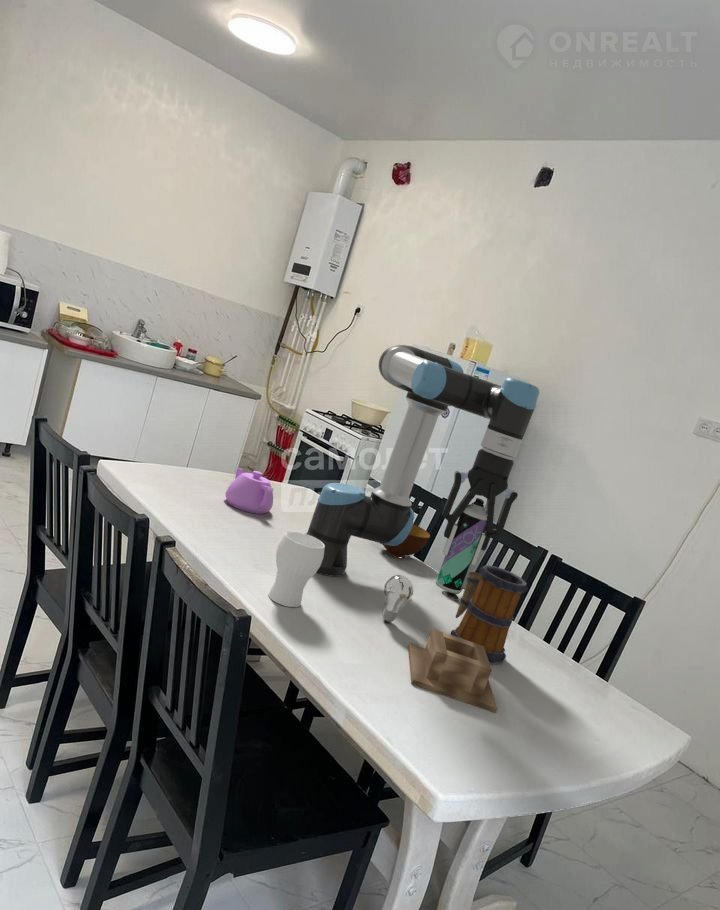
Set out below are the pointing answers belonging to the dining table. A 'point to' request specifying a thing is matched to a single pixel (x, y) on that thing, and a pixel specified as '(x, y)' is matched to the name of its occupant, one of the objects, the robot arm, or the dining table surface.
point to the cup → (295, 566)
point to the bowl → (410, 543)
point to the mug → (489, 609)
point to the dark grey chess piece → (451, 594)
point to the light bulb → (396, 596)
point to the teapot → (250, 492)
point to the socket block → (453, 669)
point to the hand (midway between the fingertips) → (458, 557)
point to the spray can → (462, 547)
